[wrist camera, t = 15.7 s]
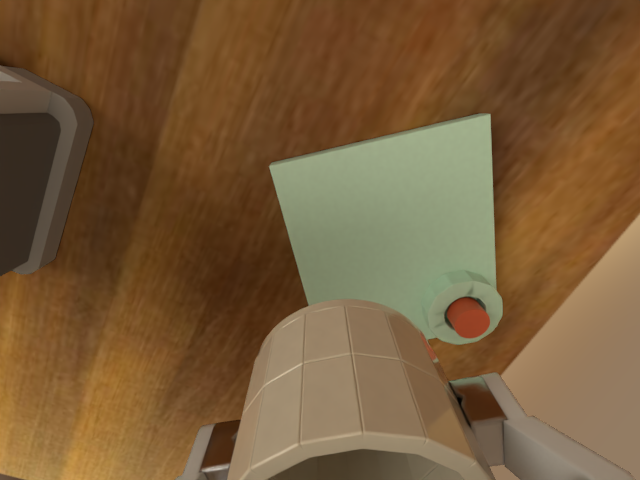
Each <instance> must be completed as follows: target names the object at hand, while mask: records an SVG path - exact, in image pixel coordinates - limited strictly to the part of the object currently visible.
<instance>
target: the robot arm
mask: <svg viewBox="0 0 640 480" xmlns="http://www.w3.org/2000/svg"><path fill="white" fill-rule="evenodd" d="M449 383H450V385H451V388H452V390H453V392H454V394H455V396H456V398H457V400H458V402H459V404H460V407H461V409H462V411H463V413H464V415H465V417H466V419H467V421H468V423H469V425H470V427H471V429H472V431H473V434H474V436H475V438H476V440H477V442H478V444H479V446H480V448H481V450H482V452H483V454H484V457H485V459H486V461H487V463H488V465H489V467H490V466H498V465H505V467H506V468H508V469H509V470H510V471H511V472H512V473H513V474H514V475H516V476H517V477H518V478H519V479H520V480H636V479H635V478H634V477H633V476H632V475H631V473H629V472H628V471H626V470H624V469H623V468H621V467H619V466H617V465H616V464H614V463H612V462H611V461H609V460H607V459H606V458H604V457H602V456H601V455H599V454H597V453H595V452H594V451H592V450H590V449H589V448H587V447H585V446H584V445H582V444H580V443H579V442H577V441H575V440H573V439H571V438H570V437H568V436H567V435H565V434H563V433H562V432H560V431H558V430H557V429H555V428H553V427H551V426H550V425H548V424H546V423H545V422H543V421H541V420H540V419H538V418H536V417H535V416H527V414H526V413H525V411H524V410H523V408H522V407H521V405H520V404H519V403H518V401H517V400H516V398H515V397H514V395H513V394H512V393H511V391H510V389H509V388H508V387H507V385H506V384H505V382H504V381H503V379H502V378H501V376H500V375H499V374H498V373H490V374H485V375H480V376H479V375H478V376H473V377H468V378H463V379H458V380H453V381H449ZM240 422H241V419H240V420H234V421H227V422H221V423H215V424H209V425H203V426H202V427H201V428H200V429H199V431H198V433H197V436H196V439H195V442H194V444H193V447H192V450H191V453H190V455H189V458H188V461H187V464H186V466H185V469H184V472H183V475H182V476H178V477H177V478H176V479H175V480H227V477H228V473H229V468H230V464H231V460H232V456H233V451H234V447H235V443H236V439H237V435H238V430H239V426H240Z"/></svg>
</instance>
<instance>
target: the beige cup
mask: <svg viewBox="0 0 640 480" xmlns="http://www.w3.org/2000/svg"><path fill="white" fill-rule="evenodd" d="M227 480H495V477H494V475H493V473H492V471H491V469H490V467H489V465H488V463H487V461H486V459H485V457H484V454H483V452H482V450H481V448H480V446H479V444H478V442H477V440H476V438H475V436H474V434H473V431H472V429H471V427H470V425H469V423H468V421H467V419H466V417H465V415H464V413H463V411H462V409H461V407H460V404H459V402H458V400H457V398H456V396H455V394H454V392H453V390H452V388H451V385H450V383H449V381H448V379H447V377H446V375H445V373H444V371H443V369H442V367H441V365H440V363H439V360H438V358H437V356H436V354H435V352H434V351H433V350H432V348H431V347H430V345H429V343H428V341H427V339H426V338H425V336H424V334H423V333H422V331H421V330H420V329H419V328H418V327H417V326H416V325H415V324H414V323H413V322H412V321H411V320H410V319H409V318H407V317H406V316H404V315H403V314H401V313H400V312H398V311H396V310H394V309H392V308H390V307H388V306H385V305H382V304H379V303H376V302H371V301H366V300H358V299H336V300H329V301H324V302H320V303H316V304H312V305H310V306H307V307H305V308H302V309H300V310H298V311H296V312H295V313H293V314H291V315H289V316H288V317H287V318H285V319H284V320H282V321H281V322H280V323H279V324H278V325H277V326H276V327H275V328H274V329H273V330H272V331H271V332H270V333H269V335H268V336H267V337H266V338H265V340H264V342H263V344H262V345H261V347H260V350H259V353H258V355H257V358H256V360H255V363H254V367H253V371H252V375H251V379H250V384H249V388H248V392H247V396H246V401H245V405H244V409H243V413H242V419H241V422H240V426H239V430H238V435H237V439H236V443H235V447H234V451H233V456H232V460H231V464H230V468H229V473H228V477H227Z"/></svg>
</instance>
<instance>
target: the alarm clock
mask: <svg viewBox="0 0 640 480" xmlns="http://www.w3.org/2000/svg"><path fill="white" fill-rule="evenodd" d="M93 124H94V122H93V118H92V114H91V111H90V108H89V107H88V106H87V105H86V103H85V102H84V101H83V100H82V99H81V98H80V97H78V96H76V95H74V94H72V93H70V92H68V91H66V90H64V89H62V88H60V87H58V86H56V85H54V84H53V83H51V82H49V81H47V80H45V79H43V78H41V77H39V76H37V75H35V74H33V73H31V72H29V71H27V70H25V69H22V68H14V67H6V66H1V65H0V276H2V275H3V274H5V273H7V272H9V271H14V272H16V273H19V274H31V273H33V272H35V271H36V270H38V269H40V268H41V267H43V266H45V265H46V264H48V263H50V262H51V261H53V260H54V259H55V257H56V254H57V250H58V247H59V243H60V240H61V236H62V233H63V229H64V226H65V222H66V218H67V215H68V211H69V208H70V204H71V201H72V197H73V194H74V190H75V187H76V183H77V180H78V176H79V173H80V169H81V166H82V162H83V159H84V155H85V152H86V148H87V145H88V141H89V138H90V134H91V131H92V127H93Z"/></svg>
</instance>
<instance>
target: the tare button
mask: <svg viewBox="0 0 640 480" xmlns="http://www.w3.org/2000/svg"><path fill="white" fill-rule="evenodd" d="M447 317H448V320H449V321H450V323H451V324H452V326H453V328H454V329H455V331H456V333H457V334H458V335H460V336H461V337H464V338H476V337H478V336H481V335H482V334H484V333H485V332H486V331H487V329H488V328H489V325H490V317H489V315H488V314H487V313H486V311H485V310H484V309H483V308H482V307H481V305H480V304H479V303H478V302H477V301H476V300H475V299H473V298H469V297H464V298H459V299H457V300H455V301H454V302H452V303H451V304H450V306H449V307H448V310H447Z"/></svg>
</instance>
